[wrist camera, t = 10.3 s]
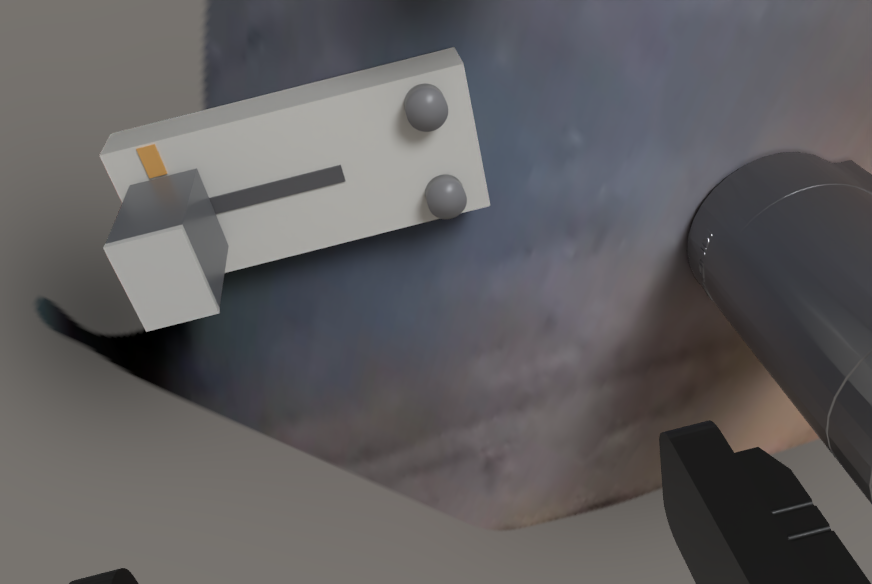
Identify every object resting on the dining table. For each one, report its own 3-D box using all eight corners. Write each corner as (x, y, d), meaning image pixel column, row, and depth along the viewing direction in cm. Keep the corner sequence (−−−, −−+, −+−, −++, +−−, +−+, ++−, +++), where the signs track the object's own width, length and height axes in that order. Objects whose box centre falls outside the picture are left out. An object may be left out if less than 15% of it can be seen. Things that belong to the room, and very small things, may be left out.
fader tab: (197, 167, 35) (181, 228, 30) (229, 246, 37) (218, 313, 33) (129, 184, 35) (102, 248, 30) (165, 262, 37) (145, 331, 33)
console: (454, 47, 36) (467, 71, 34) (480, 183, 40) (494, 215, 37) (110, 133, 36) (94, 165, 34) (170, 261, 40) (160, 300, 37)
